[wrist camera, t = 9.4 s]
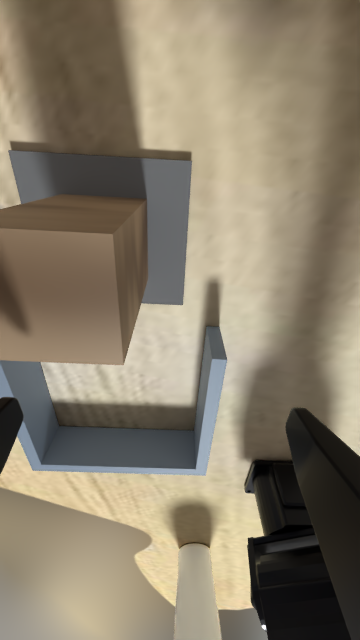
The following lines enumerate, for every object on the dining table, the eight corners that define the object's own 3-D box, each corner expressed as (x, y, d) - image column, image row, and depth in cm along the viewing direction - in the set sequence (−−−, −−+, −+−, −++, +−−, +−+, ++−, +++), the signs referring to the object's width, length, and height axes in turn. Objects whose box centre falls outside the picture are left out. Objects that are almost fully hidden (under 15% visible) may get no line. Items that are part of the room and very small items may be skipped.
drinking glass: (200, 536, 41) (209, 708, 28) (222, 550, 44) (239, 711, 31) (166, 546, 43) (159, 710, 30) (189, 558, 46) (192, 713, 33)
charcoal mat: (182, 302, 19) (182, 305, 19) (47, 296, 19) (44, 298, 19) (191, 161, 15) (191, 161, 14) (12, 150, 14) (8, 150, 14)
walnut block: (148, 278, 18) (123, 365, 10) (75, 274, 18) (-7, 360, 10) (146, 198, 15) (112, 233, 8) (61, 194, 15) (-63, 225, 7)
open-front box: (202, 436, 28) (205, 475, 24) (51, 431, 27) (32, 470, 24) (219, 326, 20) (227, 359, 17) (13, 317, 20) (-21, 349, 17)
